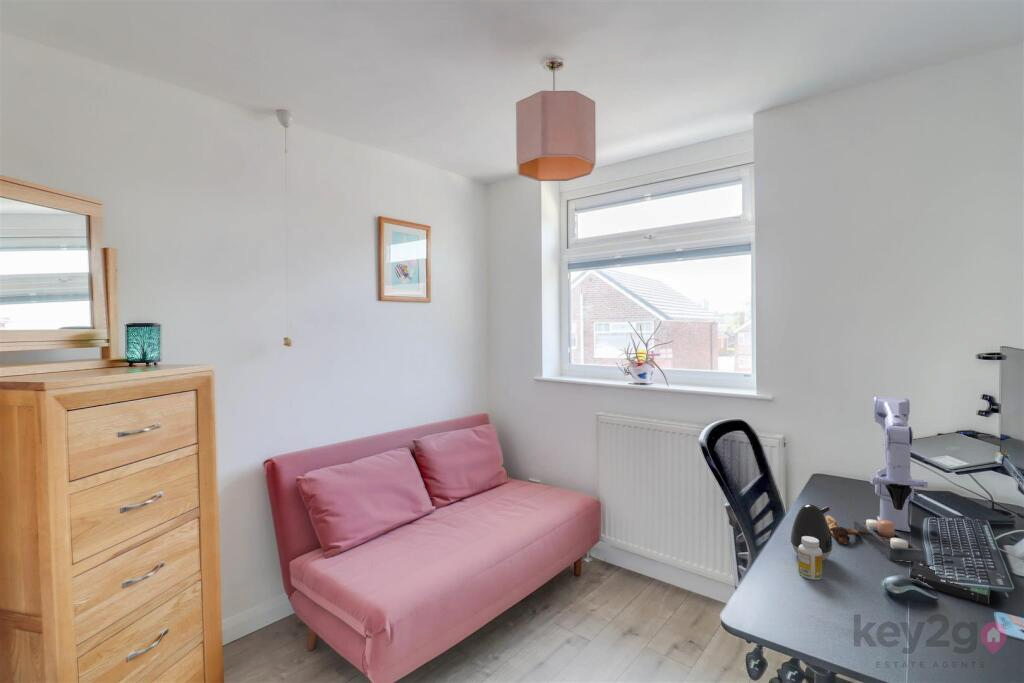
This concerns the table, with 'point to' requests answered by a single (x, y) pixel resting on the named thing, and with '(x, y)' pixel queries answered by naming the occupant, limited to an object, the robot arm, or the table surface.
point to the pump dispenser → (812, 528)
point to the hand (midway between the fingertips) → (897, 509)
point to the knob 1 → (872, 523)
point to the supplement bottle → (810, 558)
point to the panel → (888, 544)
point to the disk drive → (947, 583)
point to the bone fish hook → (839, 531)
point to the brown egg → (886, 528)
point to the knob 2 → (898, 543)
